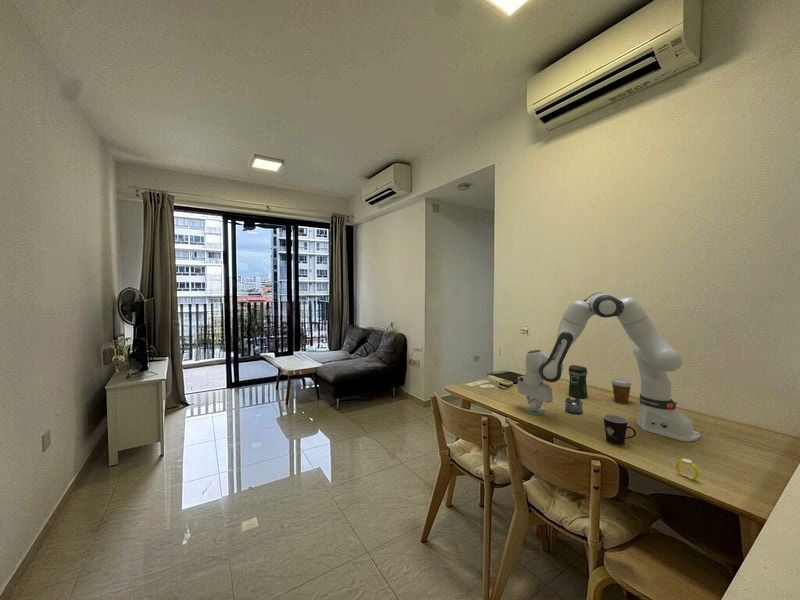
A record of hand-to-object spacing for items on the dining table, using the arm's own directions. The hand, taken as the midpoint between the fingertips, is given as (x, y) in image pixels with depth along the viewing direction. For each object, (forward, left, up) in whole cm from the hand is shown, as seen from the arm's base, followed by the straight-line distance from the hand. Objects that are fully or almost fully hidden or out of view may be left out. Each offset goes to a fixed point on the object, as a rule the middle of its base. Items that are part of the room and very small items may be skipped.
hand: (534, 405), depth 170 cm
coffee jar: (+4, -42, -3) cm, 42 cm away
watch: (-66, +2, -3) cm, 66 cm away
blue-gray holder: (-10, -18, -3) cm, 21 cm away
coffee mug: (-41, -2, -3) cm, 41 cm away
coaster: (0, 0, -3) cm, 3 cm away
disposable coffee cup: (-14, -54, -3) cm, 56 cm away
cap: (0, 0, -2) cm, 2 cm away
